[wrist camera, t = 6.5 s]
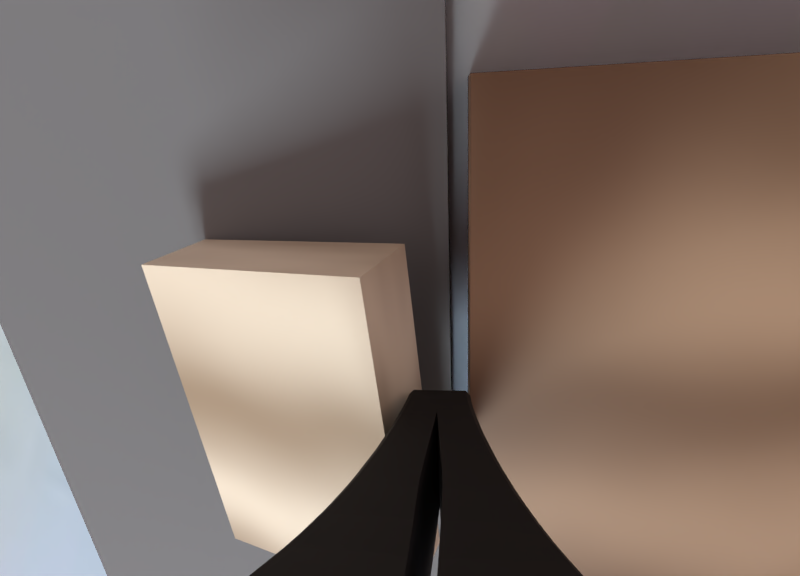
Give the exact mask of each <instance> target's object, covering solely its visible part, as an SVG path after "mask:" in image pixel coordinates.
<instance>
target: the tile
mask: <svg viewBox="0 0 800 576" xmlns="http://www.w3.org/2000/svg"><path fill="white" fill-rule="evenodd" d="M141 266H142V268H143V271H144V274H145V277H146V280H147V283H148V286H149V289H150V292H151V295H152V298H153V301H154V303H155V306H156V309H157V312H158V315H159V318H160V321H161V324H162V327H163V330H164V333H165V335H166V338H167V341H168V344H169V347H170V350H171V353H172V356H173V359H174V362H175V365H176V367H177V370H178V373H179V376H180V379H181V382H182V385H183V388H184V391H185V394H186V397H187V400H188V402H189V405H190V408H191V411H192V414H193V417H194V420H195V423H196V426H197V429H198V432H199V434H200V437H201V440H202V443H203V446H204V449H205V452H206V455H207V458H208V461H209V464H210V467H211V469H212V472H213V475H214V478H215V481H216V484H217V487H218V490H219V493H220V496H221V499H222V501H223V504H224V507H225V510H226V513H227V516H228V519H229V522H230V525H231V528H232V531H233V533H234V536H235V538H236V539H238V540H241V541H243V542H246V543H248V544H251V545H254V546H256V547H259V548H261V549H264V550H267V551H269V552H272V553H274V554H276V553H278V552H279V551H280V550H281V549H283V548H284V547H285V546H286V545H287V544H289V543H290V542H291V541H292V540H293V539H294V538H295V537H296V536H298V535H299V534H300V533H301V532H302V531H303V530H304V529H305V528H306V527H307V526H308V525H309V524H310V523H311V522H312V521H313V520H315V519H316V518H317V517H318V516H319V515H320V514H321V513H322V512H323V511H324V510H325V509H326V508H327V507H328V506H329V505H330V504H331V503H332V501H333V500H334V499H335V498H336V497H337V496H338V495H339V494H340V493H341V492H342V491H343V490H344V488H345V487H346V486H347V485H348V484H349V483H350V481H351V480H352V479H353V478H354V477H355V476H356V474H357V473H358V472H359V470H360V469H361V468H362V467H363V465H364V464H365V463H366V461H367V460H368V459H369V458H370V456H371V455H372V454H373V452H374V451H375V450H376V448H377V447H378V445H379V444H380V443H381V441H382V440H383V438H384V437H385V435H386V434H387V432H388V431H389V429H390V428H391V426H392V425H393V423H394V421H395V420H396V418H397V416H398V415H399V413H400V411H401V409H402V408H403V406H404V404H405V402H406V400H407V398H408V396H409V394H410V393H411V392H412V391H413V390H422V387H421V378H420V370H419V361H418V353H417V344H416V336H415V328H414V319H413V311H412V302H411V294H410V285H409V277H408V269H407V260H406V252H405V244H394V243H349V242H304V241H259V240H214V239H205V240H202V241H200V242H197V243H195V244H192V245H190V246H187V247H185V248H182V249H180V250H177V251H175V252H172V253H170V254H167V255H165V256H162V257H159V258H157V259H154V260H152V261H149V262H147V263H144V264H142V265H141ZM439 541H440V538H439V530H438V525H437V533H436V540H435V548H434V554H435V552H436V550H437V547H438V545H439ZM433 557H434V555H433Z"/></svg>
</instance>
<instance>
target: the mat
mask: <svg viewBox="0 0 800 576" xmlns="http://www.w3.org/2000/svg"><path fill="white" fill-rule="evenodd" d="M205 239H214V240H259V241H304V242H349V243H394V244H405V252H406V260H407V269H408V277H409V285H410V294H411V302H412V311H413V319H414V328H415V336H416V344H417V353H418V361H419V370H420V378H421V387H422V390H448V391H451V338H450V273H449V208H448V143H447V78H446V12H445V0H0V324H1V326H2V329H3V331H4V333H5V336H6V338H7V340H8V343H9V345H10V347H11V350H12V352H13V355H14V357H15V359H16V362H17V364H18V366H19V369H20V371H21V373H22V376H23V378H24V380H25V383H26V385H27V388H28V390H29V392H30V395H31V397H32V399H33V402H34V404H35V406H36V409H37V411H38V413H39V416H40V418H41V420H42V423H43V425H44V428H45V430H46V432H47V435H48V437H49V439H50V442H51V444H52V446H53V449H54V451H55V453H56V456H57V458H58V461H59V463H60V465H61V468H62V470H63V472H64V475H65V477H66V479H67V482H68V484H69V486H70V489H71V491H72V493H73V496H74V498H75V501H76V503H77V505H78V508H79V510H80V512H81V515H82V517H83V519H84V522H85V524H86V526H87V529H88V531H89V534H90V536H91V538H92V541H93V543H94V545H95V548H96V550H97V552H98V555H99V557H100V559H101V562H102V564H103V567H104V569H105V571H106V574H107V576H249V575H250V574H252V573H253V572H254V571H255V570H257V569H258V568H259V567H260V566H262V565H263V564H264V563H265V562H267V561H268V560H269V559H270V558H271V557H273V556H274V555H275V554H274V553H272V552H269V551H267V550H264V549H261V548H259V547H256V546H254V545H251V544H248V543H246V542H243V541H241V540H238V539H236V538H235V536H234V533H233V531H232V528H231V525H230V522H229V519H228V516H227V513H226V510H225V507H224V504H223V501H222V499H221V496H220V493H219V490H218V487H217V484H216V481H215V478H214V475H213V472H212V469H211V467H210V464H209V461H208V458H207V455H206V452H205V449H204V446H203V443H202V440H201V437H200V434H199V432H198V429H197V426H196V423H195V420H194V417H193V414H192V411H191V408H190V405H189V402H188V400H187V397H186V394H185V391H184V388H183V385H182V382H181V379H180V376H179V373H178V370H177V367H176V365H175V362H174V359H173V356H172V353H171V350H170V347H169V344H168V341H167V338H166V335H165V333H164V330H163V327H162V324H161V321H160V318H159V315H158V312H157V309H156V306H155V303H154V301H153V298H152V295H151V292H150V289H149V286H148V283H147V280H146V277H145V274H144V271H143V268H142V266H141V265H142V264H144V263H147V262H149V261H152V260H154V259H157V258H159V257H162V256H165V255H167V254H170V253H172V252H175V251H177V250H180V249H182V248H185V247H187V246H190V245H192V244H195V243H197V242H200V241H202V240H205ZM440 525H441V519H440V510H439V517H438V530H439V538H440ZM438 557H439V545H438V547H437V550H436V552H435V554H434V557H433V563H432V570H431V576H437V571H438Z"/></svg>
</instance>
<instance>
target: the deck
mask: <svg viewBox="0 0 800 576" xmlns="http://www.w3.org/2000/svg"><path fill="white" fill-rule="evenodd" d="M468 394H469V395H470V397H471V402H472V405H473V408H474V411H475V414H476V417H477V419H478V422H479V424H480V426H481V429H482V431H483V433H484V435H485V437H486V439H487V441H488V443H489V445H490V447H491V449H492V451H493V453H494V455H495V457H496V458H497V460H498V462H499V464H500V465H501V467H502V469H503V471H504V472H505V474H506V475H507V477H508V479H509V480H510V482H511V484H512V485H513V487H514V488H515V490H516V491H517V493H518V494H519V496H520V497H521V499H522V500H523V502H524V503H525V505H526V506H527V507H528V509H529V510H530V512H531V513H532V514H533V516H534V517H535V518H536V520H537V521H538V523H539V524H540V525H541V526H542V528H543V529H544V530H545V531H546V533H547V534H548V535H549V537H550V538H551V539H552V540H553V542H554V543H555V544H556V545H557V547H558V548H559V549H560V550H561V551H562V552H563V553H564V554H565V556H566V557H567V558H568V559H569V560H570V561H571V562H572V563H573V565H574V566H575V567H576V568H577V569H578V570H579V571H580V573H581V574H582V575H583V576H800V53H784V54H768V55H752V56H736V57H720V58H704V59H689V60H673V61H657V62H641V63H625V64H609V65H593V66H578V67H562V68H546V69H530V70H514V71H498V72H482V73H471V74H470V75H469V76H468Z"/></svg>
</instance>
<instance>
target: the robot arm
mask: <svg viewBox="0 0 800 576" xmlns="http://www.w3.org/2000/svg"><path fill="white" fill-rule="evenodd" d="M439 510H440V519H441V525H440V541H439V557H438V571H437V576H583V575H582V574H581V573H580V571H579V570H578V569H577V568H576V567H575V566H574V565H573V563H572V562H571V561H570V560H569V559H568V558H567V557H566V556H565V554H564V553H563V552H562V551H561V550H560V549H559V548H558V547H557V545H556V544H555V543H554V542H553V540H552V539H551V538H550V537H549V535H548V534H547V533H546V531H545V530H544V529H543V528H542V526H541V525H540V524H539V523H538V521H537V520H536V518H535V517H534V516H533V514H532V513H531V512H530V510H529V509H528V507H527V506H526V505H525V503H524V502H523V500H522V499H521V497H520V496H519V494H518V493H517V491H516V490H515V488H514V487H513V485H512V484H511V482H510V480H509V479H508V477H507V475H506V474H505V472H504V471H503V469H502V467H501V465H500V464H499V462H498V460H497V458H496V457H495V455H494V453H493V451H492V449H491V447H490V445H489V443H488V441H487V439H486V437H485V435H484V433H483V431H482V429H481V426H480V424H479V422H478V419H477V417H476V414H475V411H474V408H473V405H472V402H471V397H470V395H469V394H468V393H467V392H466V391H448V390H413V391H412V392H411V393H410V394H409V396H408V398H407V400H406V402H405V404H404V406H403V408H402V409H401V411H400V413H399V415H398V416H397V418H396V420H395V421H394V423H393V425H392V426H391V428H390V429H389V431H388V432H387V434H386V435H385V437H384V438H383V440H382V441H381V443H380V444H379V445H378V447H377V448H376V450H375V451H374V452H373V454H372V455H371V456H370V458H369V459H368V460H367V461H366V463H365V464H364V465H363V467H362V468H361V469H360V470H359V472H358V473H357V474H356V476H355V477H354V478H353V479H352V480H351V481H350V483H349V484H348V485H347V486H346V487H345V488H344V490H343V491H342V492H341V493H340V494H339V495H338V496H337V497H336V498H335V499H334V500H333V501H332V503H331V504H330V505H329V506H328V507H327V508H326V509H325V510H324V511H323V512H322V513H321V514H320V515H319V516H318V517H317V518H316V519H315V520H313V521H312V522H311V523H310V524H309V525H308V526H307V527H306V528H305V529H304V530H303V531H302V532H301V533H300V534H299V535H298V536H296V537H295V538H294V539H293V540H292V541H291V542H290V543H289V544H287V545H286V546H285V547H284V548H283V549H281V550H280V551H279V552H278V553H276V554H275V555H274V556H273V557H271V558H270V559H269V560H268V561H267V562H265V563H264V564H263V565H262V566H260V567H259V568H258V569H257V570H255V571H254V572H253V573H252V574H250V575H249V576H431V570H432V563H433V555H434V548H435V540H436V533H437V525H438V517H439Z"/></svg>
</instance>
